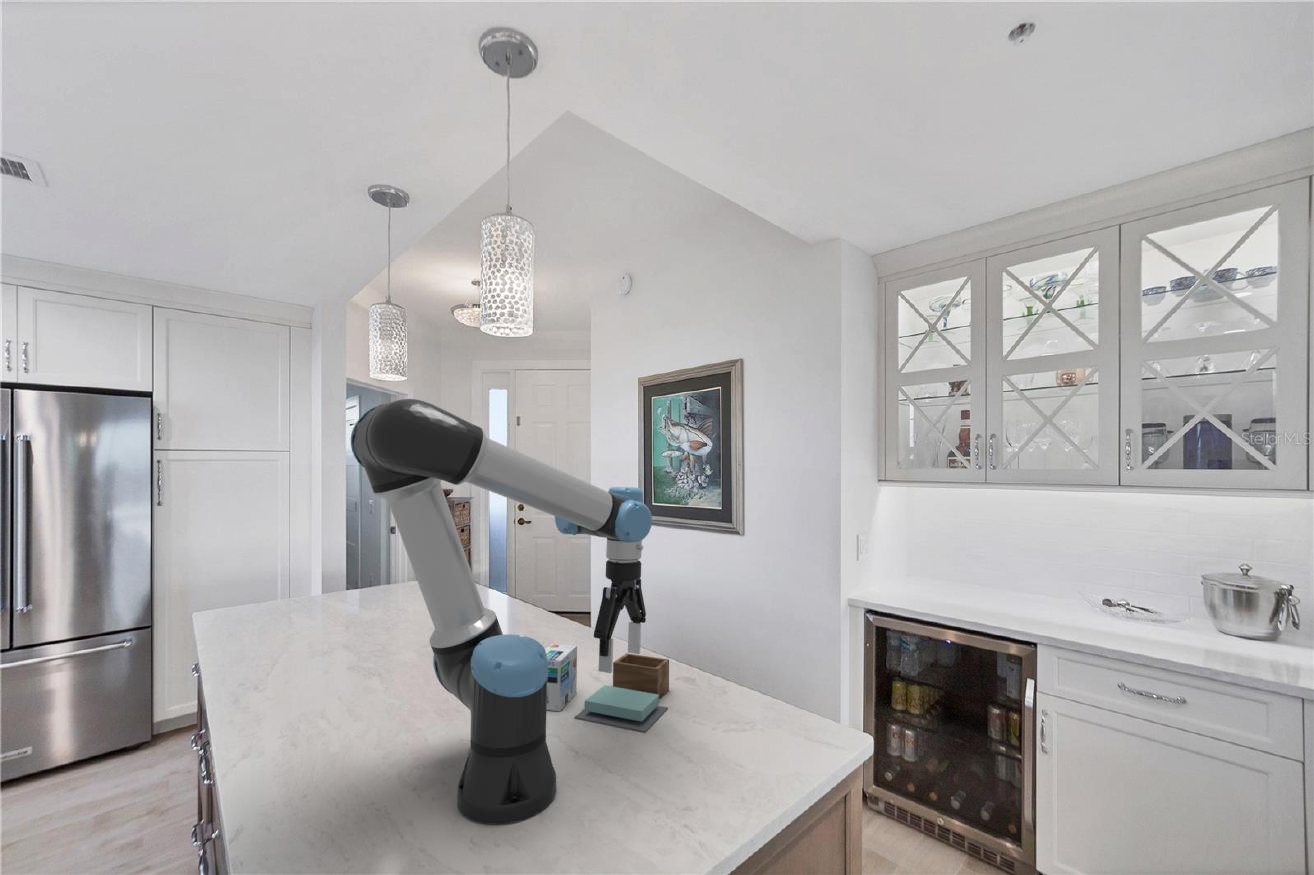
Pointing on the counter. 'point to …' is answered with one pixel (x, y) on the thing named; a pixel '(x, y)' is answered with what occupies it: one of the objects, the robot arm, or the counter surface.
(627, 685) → the box
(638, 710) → the lid
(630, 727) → the mat
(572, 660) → the light bulb box
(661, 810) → the counter surface
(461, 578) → the robot arm
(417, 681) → the counter surface
